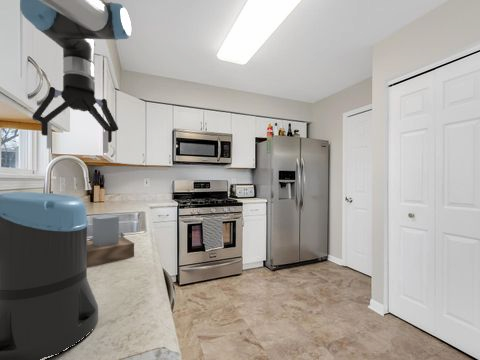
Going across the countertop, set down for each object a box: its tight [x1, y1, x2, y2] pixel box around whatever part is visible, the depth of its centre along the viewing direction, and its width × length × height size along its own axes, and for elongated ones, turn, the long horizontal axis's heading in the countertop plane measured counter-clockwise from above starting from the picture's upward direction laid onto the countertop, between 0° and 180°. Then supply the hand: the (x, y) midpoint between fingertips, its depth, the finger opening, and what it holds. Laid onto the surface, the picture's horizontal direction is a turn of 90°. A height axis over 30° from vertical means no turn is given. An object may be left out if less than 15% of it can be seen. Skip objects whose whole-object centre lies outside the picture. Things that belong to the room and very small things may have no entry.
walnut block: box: [87, 236, 135, 267], centre depth 78 cm, size 14×14×5 cm
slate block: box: [92, 215, 120, 247], centre depth 78 cm, size 6×6×9 cm
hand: (79, 150), depth 66 cm, fingers open, 13 cm apart
